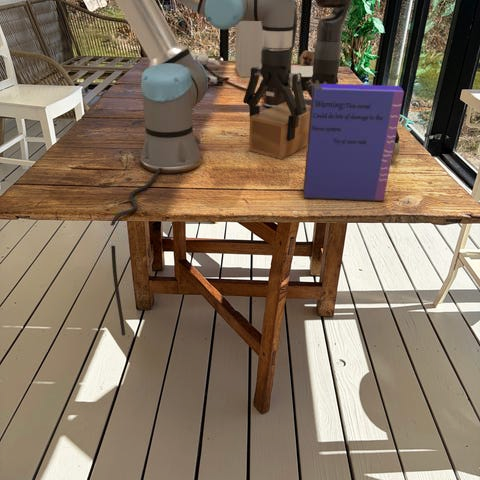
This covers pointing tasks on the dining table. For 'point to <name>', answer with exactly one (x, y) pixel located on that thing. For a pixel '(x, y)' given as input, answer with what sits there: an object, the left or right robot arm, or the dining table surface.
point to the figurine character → (396, 146)
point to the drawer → (307, 101)
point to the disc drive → (303, 74)
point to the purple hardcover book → (351, 141)
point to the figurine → (217, 79)
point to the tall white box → (248, 47)
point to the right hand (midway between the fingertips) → (320, 115)
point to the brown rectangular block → (277, 132)
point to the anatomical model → (307, 58)
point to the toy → (204, 59)
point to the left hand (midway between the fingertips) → (272, 134)
